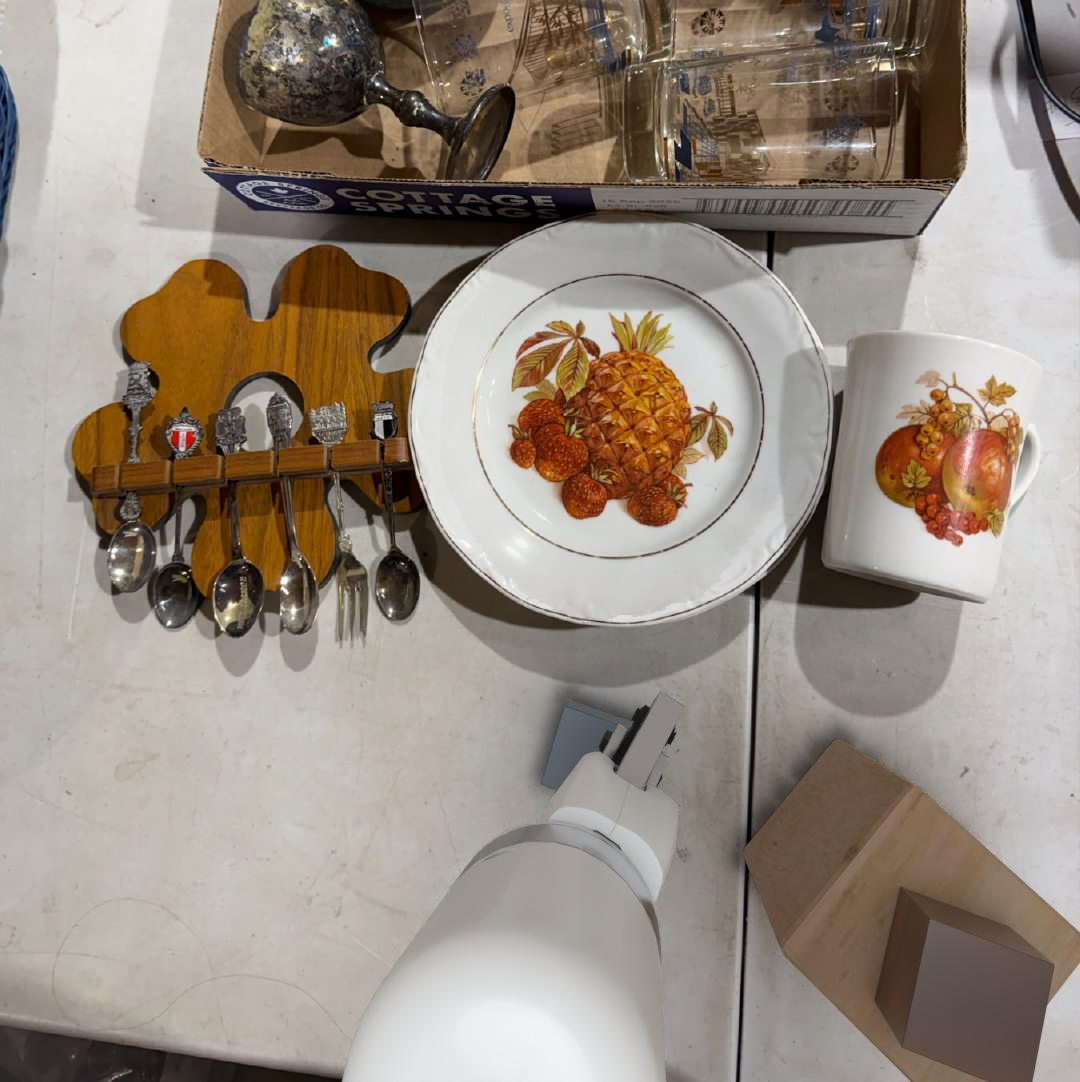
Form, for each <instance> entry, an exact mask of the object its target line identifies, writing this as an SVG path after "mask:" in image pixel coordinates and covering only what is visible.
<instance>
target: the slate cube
mask: <svg viewBox="0 0 1080 1082" xmlns="http://www.w3.org/2000/svg"><path fill="white" fill-rule="evenodd" d="M633 722H634V721H633V720H629V719H626V718H624V717H620V716H618V715H616V714H615V715H614V714H612V713H610V712H606V711H604V710H600V709H599V708H596V707H593V706H589V705H587V704H583V703H581V702H578V701H575V700H572V699H570V700H569V701H568V702H567V703H566V704H564V706H563V709H562V712H561V714H560V718H559V722H558V725H557V728H556V731H555V734H554V738H553V741H552V744H551V748H550V751H549V754H548V758H547V760H546V764H545V767H544V771H543V774H542V777H541V780H540V785H542V786H544V787H547V788H550V789H553V790H555V791H556V792H557V791H558V789H559V788H560V786H561V785H562V784H563V782H564V781H565V780H566V778H567V777H568V776H569V774H570V773H571V772H572V770H573V769H574V768H575V766H576V765H577V764H578V763H579V761H580V760H581V759H582V757H583V756H584V755H586V754H588V753H591V752H599V750H600V748H598V747H599V745H600V742H601V739H602V737H603V736H604V734H605V732H606V730H609V731H611V732H614V731H615V729H616V727H617V726H618V724H620V725H622V726H623V727H625V728H626V729H627V728H628V729H630V728H631V726H632V724H633ZM614 767H616V768H617V769H618V767H619V766H618V765H616V764H615V765H614Z"/></svg>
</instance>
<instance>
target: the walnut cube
mask: <svg viewBox="0 0 1080 1082" xmlns="http://www.w3.org/2000/svg"><path fill="white" fill-rule="evenodd" d="M1054 966H1055V965H1054V964H1053V963H1052V962H1051V961H1050V960H1049V959H1047V958H1046V957H1045V956H1044V955H1043V954H1041V953H1040V952H1039V951H1038V950H1037V949H1036V948H1034V947H1033V946H1032V945H1031V944H1030V943H1029V942H1027V941H1026V940H1025V939H1024V938H1023V937H1021V936H1020V935H1019V934H1018V933H1017V932H1016V931H1014V930H1013V929H1012V928H1011V927H1008V926H1006V925H1003V924H1000V923H998V922H995V921H992V920H989V919H987V918H984V917H981V916H979V915H976V914H973V913H971V912H968V911H965V910H962V909H960V908H957V907H954V906H952V905H949V904H946V903H943V902H941V901H938V900H935V899H933V898H930V897H927V896H924V895H922V894H919V893H916V892H914V891H911V890H908V889H906V888H903V887H900V890H899V894H898V899H897V903H896V907H895V912H894V916H893V921H892V925H891V930H890V934H889V938H888V943H887V947H886V952H885V956H884V961H883V965H882V970H881V974H880V978H879V983H878V987H877V992H876V996H875V1003H876V1005H877V1006H878V1008H879V1010H880V1012H881V1013H882V1015H883V1017H884V1018H885V1020H886V1022H887V1023H888V1025H889V1027H890V1028H891V1030H892V1032H893V1034H894V1035H895V1037H896V1039H897V1040H898V1042H899V1044H900V1045H901V1047H902V1048H904V1049H907V1050H909V1051H912V1052H914V1053H917V1054H919V1055H922V1056H924V1057H927V1058H929V1059H932V1060H934V1061H937V1062H939V1063H942V1064H944V1065H947V1066H949V1067H952V1068H954V1069H957V1070H959V1071H962V1072H964V1073H967V1074H969V1075H972V1076H974V1077H977V1078H979V1079H982V1080H984V1081H987V1082H1033V1081H1034V1077H1035V1070H1036V1066H1037V1060H1038V1055H1039V1051H1040V1045H1041V1039H1042V1034H1043V1029H1044V1024H1045V1018H1046V1015H1047V1014H1046V1013H1047V1009H1048V1005H1047V1003H1048V998H1049V993H1050V987H1051V982H1052V977H1053V972H1054Z"/></svg>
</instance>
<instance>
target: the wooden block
mask: <svg viewBox="0 0 1080 1082" xmlns="http://www.w3.org/2000/svg"><path fill="white" fill-rule="evenodd" d="M742 855H743V859H744V860H745V864H746V865H747V868H748V870H749V873H750V876H751V878H752V880H753V883H754V885H755V888H756V891H757V893H758V895H759V898H760V901H761V903H762V906H763V909H764V910H765V913H766V916H767V918H768V920H769V923H770V925H771V928H772V931H773V933H774V936H775V938H776V941H777V943H778V946H779V948H780V951H781V953H782V954H783V956H784V957H785V958H786V959H787V960H788V961H789V962H790V963H791V964H792V965H793V966H794V967H795V968H796V969H797V970H798V971H799V972H800V973H801V974H802V975H803V976H804V977H805V978H806V979H807V980H808V981H809V982H810V983H811V984H812V985H813V986H814V987H815V988H816V990H818V991H819V992H820V993H821V994H822V995H823V996H824V997H825V998H826V999H827V1000H828V1001H829V1002H830V1003H831V1004H832V1005H833V1006H834V1007H835V1008H836V1009H837V1010H838V1011H839V1012H840V1013H841V1014H842V1015H843V1016H844V1017H845V1018H846V1019H847V1020H848V1021H849V1022H850V1023H851V1024H852V1025H853V1026H854V1027H856V1029H857V1030H858V1031H859V1032H860V1033H861V1034H862V1036H864V1037H865V1038H866V1039H868V1041H870V1043H871V1044H872V1045H873V1046H874V1047H875V1048H876V1049H877V1050H878V1051H879V1052H880V1053H881V1054H882V1055H883V1056H884V1057H885V1058H886V1059H887V1060H888V1061H889V1062H890V1063H891V1064H892V1065H893V1066H894V1067H895V1068H896V1069H897V1070H898V1071H899V1072H900V1073H901V1074H902V1075H903V1076H904V1077H905V1078H906V1079H907V1080H908V1081H909V1082H987V1081H984V1080H982V1079H979V1078H977V1077H974V1076H972V1075H969V1074H967V1073H964V1072H962V1071H959V1070H957V1069H954V1068H952V1067H949V1066H947V1065H944V1064H942V1063H939V1062H937V1061H934V1060H932V1059H929V1058H927V1057H924V1056H922V1055H919V1054H917V1053H914V1052H912V1051H909V1050H907V1049H904V1048H902V1047H901V1045H900V1044H899V1042H898V1040H897V1039H896V1037H895V1035H894V1034H893V1032H892V1030H891V1028H890V1027H889V1025H888V1023H887V1022H886V1020H885V1018H884V1017H883V1015H882V1013H881V1012H880V1010H879V1008H878V1006H877V1005H876V1003H875V996H876V992H877V987H878V983H879V978H880V974H881V970H882V965H883V961H884V956H885V952H886V947H887V943H888V938H889V934H890V930H891V925H892V921H893V916H894V912H895V907H896V903H897V899H898V894H899V890H900V887H903V888H906V889H908V890H911V891H914V892H916V893H919V894H922V895H924V896H927V897H930V898H933V899H935V900H938V901H941V902H943V903H946V904H949V905H952V906H954V907H957V908H960V909H962V910H965V911H968V912H971V913H973V914H976V915H979V916H981V917H984V918H987V919H989V920H992V921H995V922H998V923H1000V924H1003V925H1006V926H1008V927H1011V928H1012V929H1013V930H1014V931H1016V932H1017V933H1018V934H1019V935H1020V936H1021V937H1023V938H1024V939H1025V940H1026V941H1027V942H1029V943H1030V944H1031V945H1032V946H1033V947H1034V948H1036V949H1037V950H1038V951H1039V952H1040V953H1041V954H1043V955H1044V956H1045V957H1046V958H1047V959H1049V960H1050V961H1051V962H1052V963H1053V964H1054V965H1055V966H1054V972H1053V977H1052V982H1051V987H1050V993H1049V998H1048V1003H1047V1006H1048V1005H1049V1004H1050V1002H1051V1001H1052V1000H1053V999H1054V997H1055V996H1056V995H1057V993H1058V992H1059V991H1060V990H1061V988H1062V987H1063V986H1064V984H1065V983H1066V982H1067V980H1068V979H1069V977H1071V975H1072V974H1073V973H1074V972H1075V970H1076V969H1077V968H1078V966H1079V965H1080V931H1079V930H1078V929H1077V928H1076V927H1075V926H1074V925H1073V924H1072V923H1071V922H1069V921H1068V920H1067V919H1066V918H1065V917H1064V916H1063V915H1061V914H1060V913H1059V912H1058V911H1057V910H1056V909H1055V908H1054V907H1053V906H1052V905H1051V904H1049V903H1048V902H1047V901H1046V900H1045V899H1044V898H1043V897H1042V896H1041V895H1039V894H1038V893H1037V892H1036V891H1035V890H1034V889H1033V888H1032V887H1030V885H1028V884H1027V883H1026V882H1025V881H1024V880H1023V879H1022V878H1021V877H1019V876H1018V875H1017V874H1016V873H1015V872H1014V871H1013V870H1012V869H1011V868H1010V867H1008V866H1007V865H1006V864H1005V863H1004V862H1003V861H1001V859H999V858H998V856H996V855H995V854H994V853H993V852H992V851H991V850H990V849H988V847H986V846H985V845H984V844H983V843H982V842H981V841H980V840H979V839H977V838H976V837H975V836H974V835H973V834H972V833H971V832H970V831H969V830H967V829H966V828H965V826H963V825H962V824H961V823H959V822H958V820H956V819H955V818H954V817H953V816H952V815H951V814H949V812H947V811H946V810H945V809H944V808H943V806H941V805H939V804H938V803H937V801H936V800H934V799H933V798H932V797H931V796H930V795H928V793H926V791H924V790H923V789H922V788H921V787H920V786H918V785H916V784H915V783H913V782H912V781H910V780H909V779H906V778H905V777H903V776H902V775H900V774H899V773H897V772H895V771H894V770H891V769H890V768H889V767H887V766H885V765H884V764H882V763H880V762H879V761H877V760H875V758H872V757H871V756H869V755H867V754H866V753H864V752H863V751H861V750H859V749H858V748H856V747H855V746H852V745H851V744H850V743H848V742H846V741H845V740H843V739H840V738H837V739H835V740H833V741H832V742H831V743H830V744H829V745H828V747H827V748H826V749H825V750H824V752H822V754H820V756H819V757H818V758H817V760H816V761H815V762H814V763H813V765H812V766H811V767H810V768H809V769H808V770H807V772H806V773H805V774H804V776H803V777H802V778H800V780H799V782H798V783H797V784H796V785H795V786H794V788H792V790H791V791H790V793H789V794H788V795H787V796H786V797H785V798H784V800H783V801H782V802H781V803H780V804H779V805H778V807H777V808H776V809H775V810H774V812H773V813H772V814H771V815H770V816H769V818H768V819H767V820H766V821H765V822H764V823H763V825H762V826H761V828H759V829H758V831H757V832H756V833H755V835H753V837H752V838H751V840H750V841H749V842H748V843H747V845H745V846H744V848H743V852H742Z"/></svg>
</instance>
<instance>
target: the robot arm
mask: <svg viewBox="0 0 1080 1082" xmlns="http://www.w3.org/2000/svg"><path fill="white" fill-rule="evenodd" d="M684 709H685V705H684V704H683V703H681V702H680V701H678V700H676V699H675V698H673V697H672V696H670V695H669V694H667V693H665V692H664V691H663V690H660V691H659V692H658V694H657V695H656V697H655V698H654V700H653V701H652V702H651V704H650V706H649V705H647V704H644V706H641V708H639V707H637V709H636V710H635V711H634V713H633V715H632V717H631V720H630V721H632V722H633V724H632V726H631V728H630V729H628V728H627V729H626V728H625V727H623V726H622V725H620V724H618V726H617V727H616V729H615V731H614V732H611V731H609V730H606V732H605V734H604V736H603V737H602V739H601V742H600V745H599V747H598V748H600V750H599V752H591V753H588V754H586V755H584V756H583V757H582V759H581V760H580V761H579V763H578V764H577V765H576V766H575V768H574V769H573V770H572V772H571V773H570V774H569V776H568V777H567V778H566V780H565V781H564V782H563V784H562V785H561V786H560V788H559V789H558V791H557V790H556V792H554V793H555V794H553V796H552V798H551V799H550V800H549V802H548V803H547V805H546V806H545V807H544V809H543V810H542V811H541V813H540V815H539V816H538V817H537V819H536V820H535V821H531V822H527V823H523V824H519V825H517V826H515V827H512V828H509V829H508V830H506V831H503V832H501V833H500V834H498V835H496V836H494V838H492V839H491V840H489V841H488V842H487V843H486V844H484V845H483V846H482V847H481V848H480V849H479V850H478V851H477V852H476V853H475V854H474V856H473V857H472V858H471V859H470V861H469V862H468V864H467V865H466V866H465V867H464V869H463V870H462V872H461V873H460V874H459V875H458V877H457V878H456V880H455V881H454V882H453V883H452V885H451V886H450V887H449V890H447V893H446V894H445V895H444V897H443V898H441V901H440V902H439V903H438V905H436V907H435V908H434V910H433V911H432V912H431V914H430V915H429V916H428V917H427V919H426V921H425V922H424V924H423V925H422V926H421V927H420V929H419V930H418V932H417V933H416V935H415V936H414V937H413V938H412V940H411V941H410V943H409V944H408V945H407V947H406V948H405V949H404V951H403V952H402V954H401V955H400V957H399V958H398V959H397V961H396V962H395V963H394V964H393V965H392V967H391V968H390V970H389V971H388V973H387V974H386V976H385V977H384V979H382V981H381V983H380V984H379V985H378V987H377V989H376V991H375V992H374V994H373V996H372V998H371V999H370V1001H369V1002H368V1005H367V1006H366V1008H365V1009H364V1011H363V1014H362V1016H361V1018H360V1020H359V1021H358V1025H357V1028H356V1030H355V1032H354V1035H353V1038H352V1040H351V1042H350V1045H349V1048H348V1053H347V1057H346V1061H345V1065H344V1070H343V1075H342V1080H341V1082H667V1071H666V1049H665V1048H666V1045H665V1029H664V1026H665V1024H664V1021H665V1020H664V993H663V991H664V990H663V967H662V940H661V926H660V922H659V918H658V913H657V908H656V904H657V902H658V900H659V898H660V895H661V892H662V889H663V887H664V884H665V882H666V878H667V875H668V873H669V870H670V866H671V864H672V861H673V857H674V853H675V850H676V849H675V848H676V844H677V839H678V831H679V821H680V820H679V819H680V818H679V808H678V805H677V803H676V801H674V799H672V798H671V797H670V796H669V795H667V793H665V792H664V791H662V790H661V789H660V788H659V785H660V783H661V781H662V780H663V773H664V770H665V768H666V765H667V764H668V761H669V759H670V756H668V754H666V753H664V752H663V750H664V748H665V747H667V745H669V746H671V745H672V743H673V742H674V741H675V738H676V736H677V734H678V733H677V732H675V731H676V730H677V729H676V726H677V723H678V720H679V719H680V717H681V715H682V713H683V711H684ZM615 764H616V765H618V766H619V767H618V769H617V768H616V767H614V765H615Z"/></svg>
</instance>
